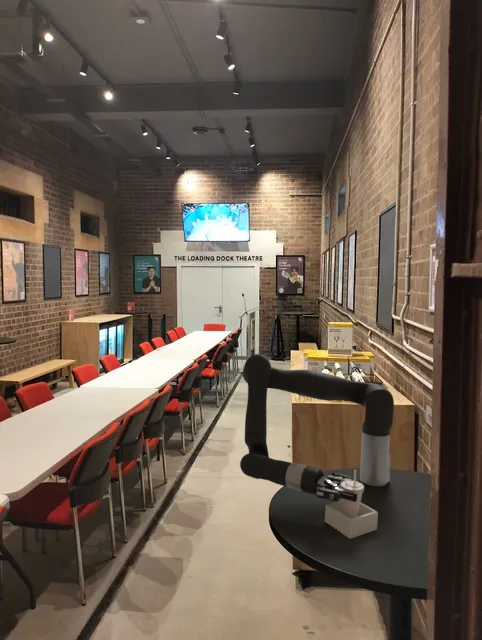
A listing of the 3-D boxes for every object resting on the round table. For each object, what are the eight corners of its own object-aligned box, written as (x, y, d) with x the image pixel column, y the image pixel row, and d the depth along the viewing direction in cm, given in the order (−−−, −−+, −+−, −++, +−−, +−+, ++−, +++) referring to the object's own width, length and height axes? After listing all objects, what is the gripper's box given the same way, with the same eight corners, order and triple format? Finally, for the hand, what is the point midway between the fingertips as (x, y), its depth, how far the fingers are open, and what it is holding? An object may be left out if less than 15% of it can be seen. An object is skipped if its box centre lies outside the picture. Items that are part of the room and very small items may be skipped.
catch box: (351, 513, 140) (352, 497, 139) (377, 529, 131) (377, 512, 130) (324, 521, 134) (325, 504, 134) (349, 538, 126) (350, 520, 125)
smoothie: (362, 525, 129) (365, 476, 127) (338, 522, 130) (341, 473, 129) (361, 514, 135) (364, 466, 134) (338, 511, 136) (341, 464, 135)
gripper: (295, 474, 132) (353, 489, 124) (313, 458, 145) (368, 470, 136) (293, 500, 133) (352, 516, 125) (312, 481, 145) (366, 495, 137)
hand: (360, 492), depth 131 cm, fingers closed on smoothie, 6 cm apart
